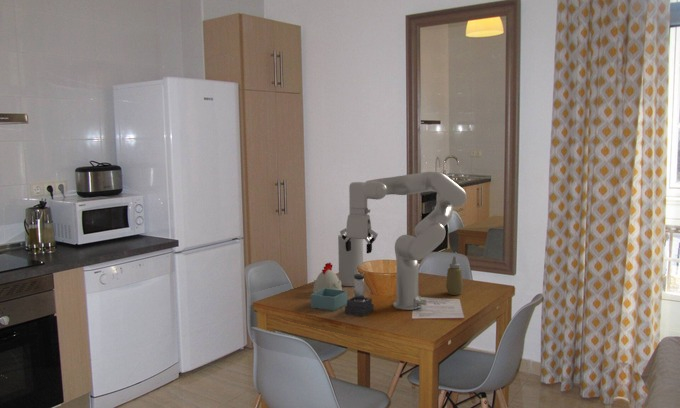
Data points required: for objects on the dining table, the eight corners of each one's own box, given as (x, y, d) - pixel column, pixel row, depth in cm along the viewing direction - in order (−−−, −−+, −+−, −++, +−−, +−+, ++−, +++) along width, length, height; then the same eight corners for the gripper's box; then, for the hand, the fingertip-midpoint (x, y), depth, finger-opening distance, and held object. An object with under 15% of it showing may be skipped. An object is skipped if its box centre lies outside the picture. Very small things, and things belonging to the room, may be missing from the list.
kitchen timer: (347, 292, 271) (346, 262, 270) (332, 299, 260) (332, 267, 258) (323, 289, 278) (322, 259, 277) (307, 295, 267) (306, 264, 265)
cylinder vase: (356, 279, 296) (355, 233, 293) (367, 285, 285) (367, 236, 282) (334, 282, 291) (334, 235, 288) (345, 288, 279) (344, 238, 277)
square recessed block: (373, 310, 241) (373, 298, 241) (364, 316, 233) (364, 303, 233) (355, 307, 245) (354, 295, 245) (345, 313, 238) (345, 300, 237)
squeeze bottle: (444, 295, 264) (444, 257, 262) (447, 290, 271) (447, 254, 269) (461, 296, 261) (461, 258, 259) (464, 292, 268) (464, 255, 266)
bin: (347, 304, 251) (347, 291, 251) (334, 311, 241) (334, 297, 240) (324, 300, 257) (324, 288, 256) (310, 307, 247) (310, 294, 246)
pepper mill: (367, 304, 240) (366, 274, 239) (361, 307, 236) (361, 277, 234) (357, 302, 242) (356, 273, 241) (351, 305, 238) (351, 275, 237)
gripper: (380, 211, 234) (381, 252, 236) (344, 209, 242) (345, 248, 244) (373, 213, 227) (373, 255, 229) (336, 211, 236) (336, 251, 238)
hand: (358, 251), depth 237 cm, fingers open, 9 cm apart
